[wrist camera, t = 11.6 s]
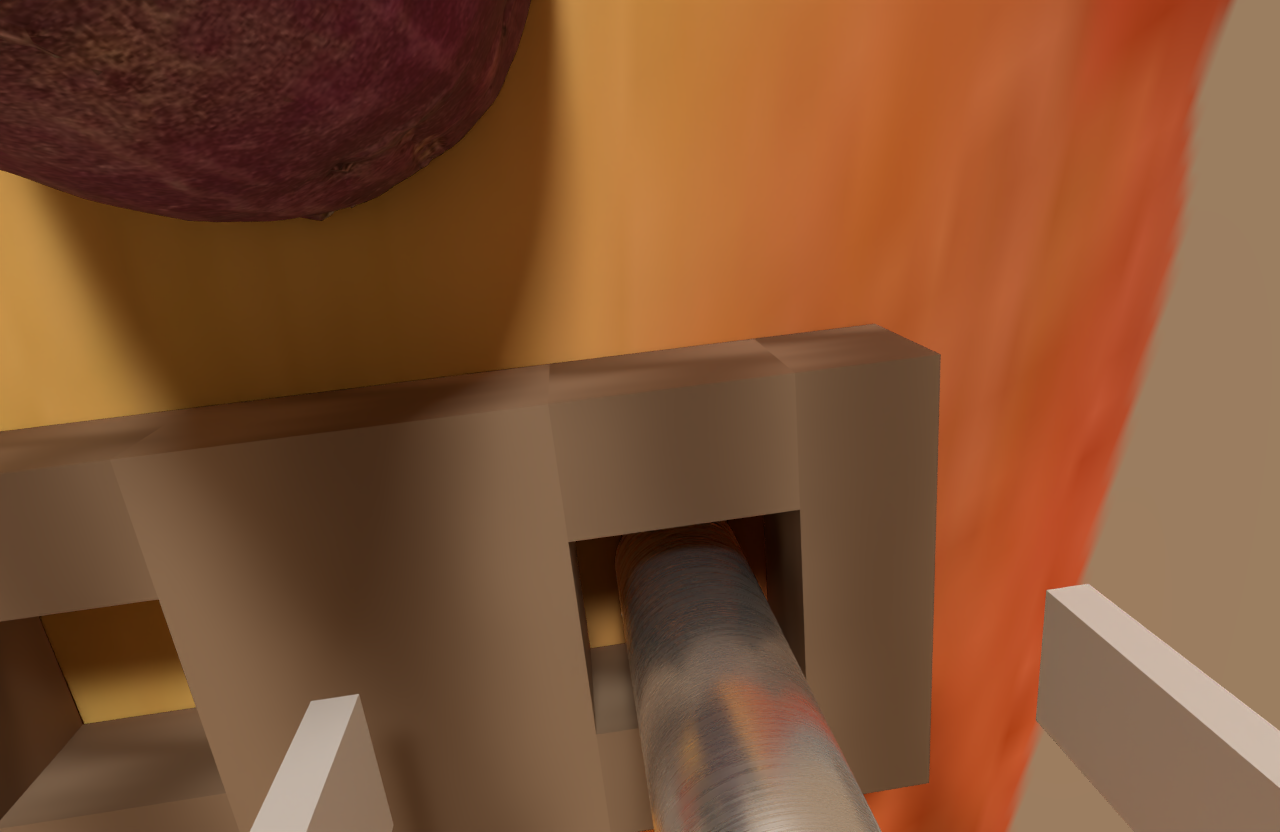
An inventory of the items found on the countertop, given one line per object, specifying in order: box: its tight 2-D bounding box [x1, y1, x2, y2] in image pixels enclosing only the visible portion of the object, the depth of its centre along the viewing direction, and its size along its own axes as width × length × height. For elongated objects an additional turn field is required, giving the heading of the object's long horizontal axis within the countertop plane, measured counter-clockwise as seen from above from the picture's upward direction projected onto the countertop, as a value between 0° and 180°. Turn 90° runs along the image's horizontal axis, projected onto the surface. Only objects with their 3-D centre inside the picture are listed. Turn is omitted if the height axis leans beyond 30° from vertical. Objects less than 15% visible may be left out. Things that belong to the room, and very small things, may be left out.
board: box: [0, 324, 941, 832], centre depth 16 cm, size 22×10×3 cm, turn 96°
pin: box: [615, 520, 881, 832], centre depth 12 cm, size 3×3×12 cm
